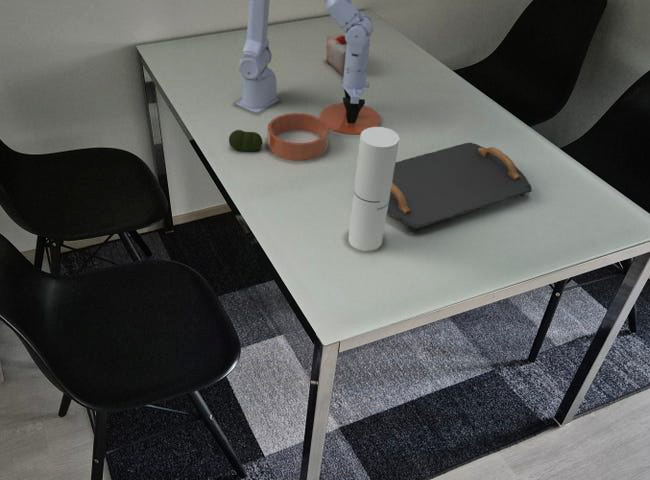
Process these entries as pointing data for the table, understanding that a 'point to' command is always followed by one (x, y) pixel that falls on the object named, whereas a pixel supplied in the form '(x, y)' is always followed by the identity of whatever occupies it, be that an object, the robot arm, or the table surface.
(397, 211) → the serving tray
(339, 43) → the food item
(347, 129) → the lid
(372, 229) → the cylindrical container
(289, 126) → the pot
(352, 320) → the table surface
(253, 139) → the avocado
